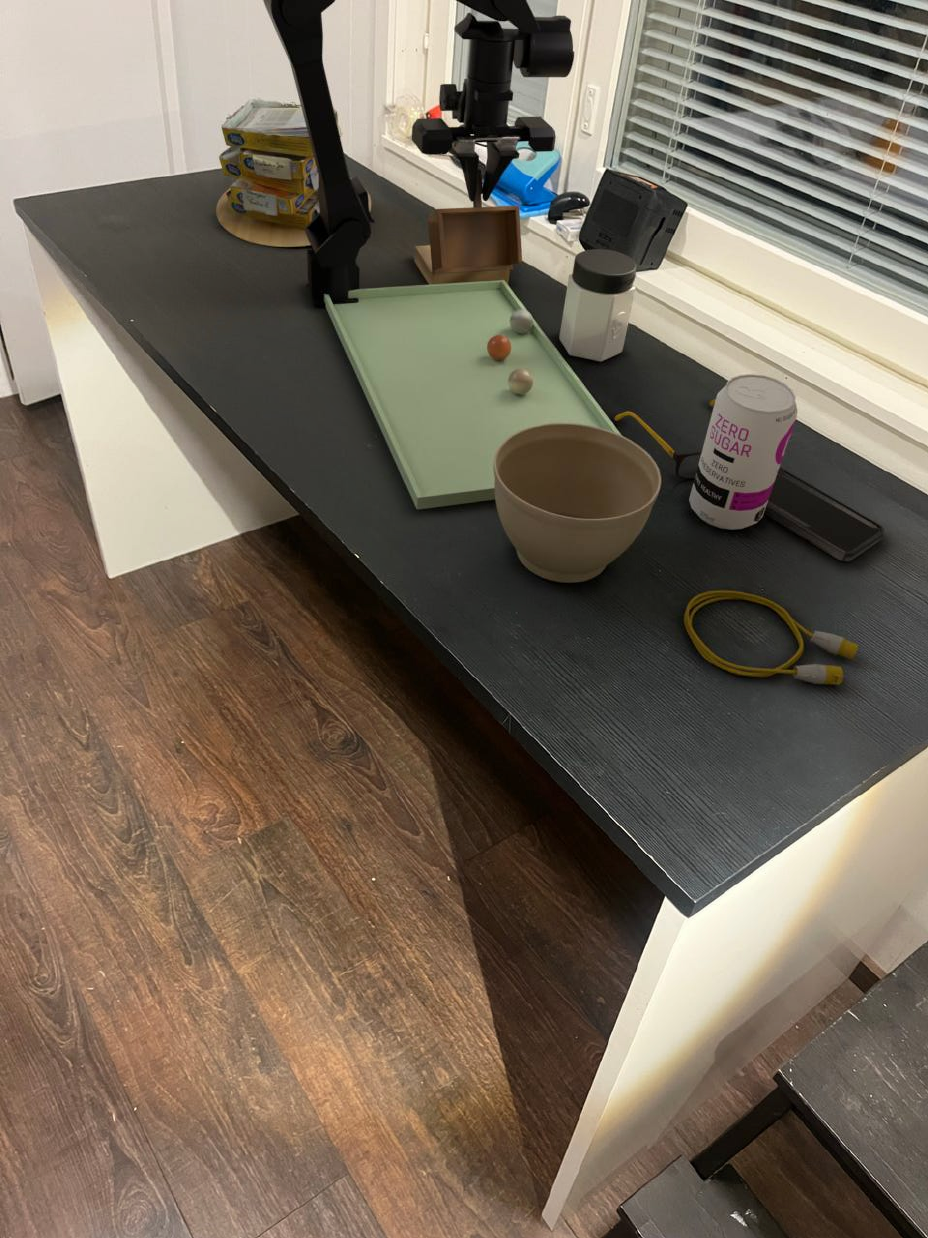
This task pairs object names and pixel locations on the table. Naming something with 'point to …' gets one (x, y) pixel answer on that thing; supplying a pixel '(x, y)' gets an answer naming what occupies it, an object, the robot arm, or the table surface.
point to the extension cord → (822, 639)
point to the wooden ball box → (475, 237)
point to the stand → (425, 266)
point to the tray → (453, 382)
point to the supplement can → (743, 451)
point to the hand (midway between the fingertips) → (478, 200)
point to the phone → (820, 518)
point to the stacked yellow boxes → (269, 175)
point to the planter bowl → (572, 497)
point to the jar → (598, 304)
